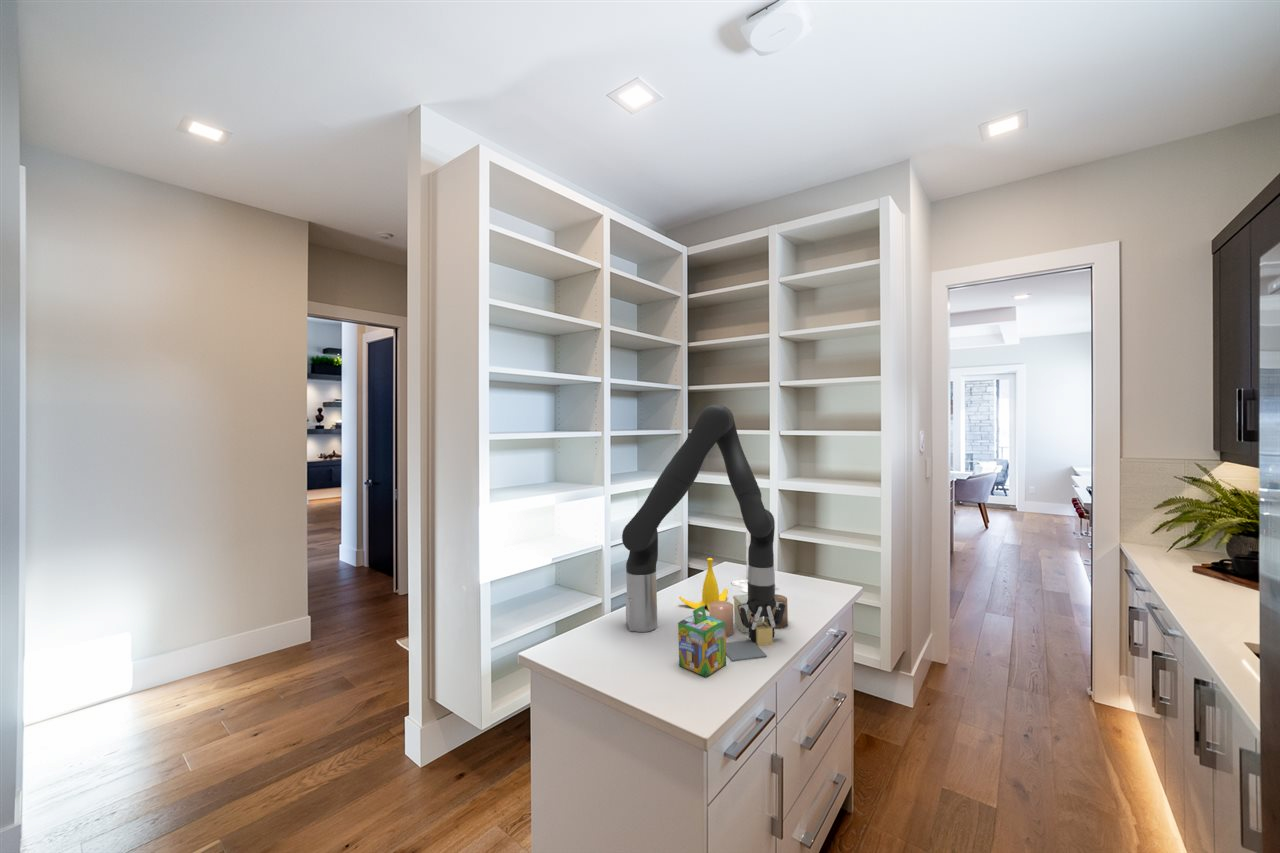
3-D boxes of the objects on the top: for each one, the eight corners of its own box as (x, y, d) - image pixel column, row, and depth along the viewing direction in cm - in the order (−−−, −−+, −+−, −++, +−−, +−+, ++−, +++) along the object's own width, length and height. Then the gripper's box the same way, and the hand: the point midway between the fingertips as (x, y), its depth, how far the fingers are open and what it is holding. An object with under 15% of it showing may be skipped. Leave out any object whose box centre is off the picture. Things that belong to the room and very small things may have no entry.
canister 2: (770, 629, 154) (770, 603, 154) (760, 620, 161) (759, 595, 161) (792, 627, 155) (791, 601, 155) (781, 618, 162) (780, 593, 162)
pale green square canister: (742, 633, 152) (741, 603, 152) (733, 623, 159) (733, 595, 159) (763, 630, 154) (763, 601, 153) (754, 621, 160) (753, 593, 160)
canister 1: (714, 638, 149) (714, 610, 149) (706, 628, 156) (706, 602, 156) (737, 635, 151) (736, 608, 151) (728, 625, 158) (727, 599, 157)
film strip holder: (728, 582, 198) (727, 530, 198) (761, 578, 202) (760, 527, 201) (744, 594, 184) (743, 539, 184) (780, 590, 188) (779, 536, 187)
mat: (731, 661, 135) (731, 660, 135) (718, 644, 145) (718, 643, 145) (767, 657, 137) (767, 655, 137) (751, 640, 147) (751, 639, 147)
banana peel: (677, 606, 175) (676, 557, 175) (726, 597, 182) (725, 550, 182) (700, 624, 160) (699, 570, 159) (752, 614, 167) (752, 563, 166)
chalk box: (706, 678, 127) (704, 618, 127) (677, 666, 133) (676, 609, 133) (727, 664, 134) (726, 608, 133) (699, 653, 140) (698, 599, 140)
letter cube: (757, 645, 144) (757, 629, 144) (751, 639, 148) (750, 623, 148) (772, 644, 145) (772, 627, 145) (765, 637, 149) (765, 621, 149)
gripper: (742, 587, 141) (743, 648, 141) (790, 582, 144) (791, 643, 144) (732, 578, 148) (733, 637, 149) (778, 574, 151) (778, 632, 152)
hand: (761, 639), depth 146 cm, fingers closed on letter cube, 4 cm apart
